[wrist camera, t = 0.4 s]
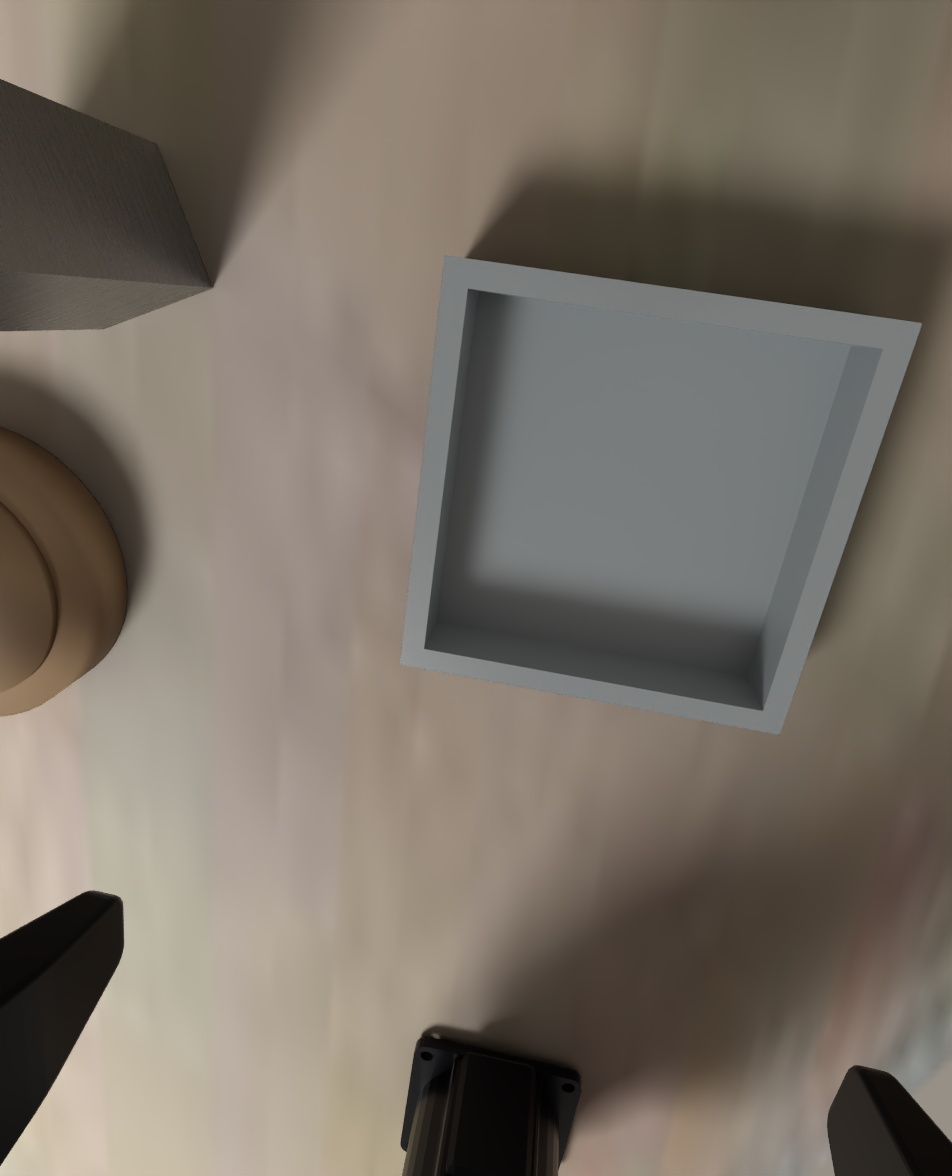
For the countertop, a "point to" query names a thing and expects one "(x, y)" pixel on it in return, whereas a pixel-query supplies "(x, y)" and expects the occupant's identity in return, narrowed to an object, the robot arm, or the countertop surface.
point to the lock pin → (85, 221)
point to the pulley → (52, 577)
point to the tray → (639, 487)
